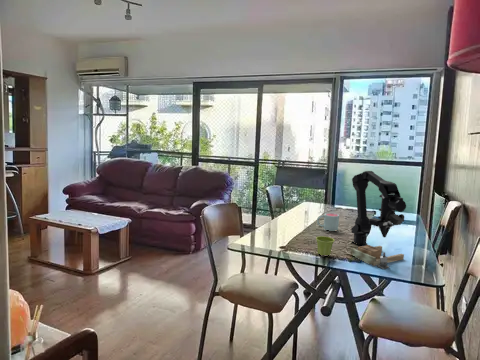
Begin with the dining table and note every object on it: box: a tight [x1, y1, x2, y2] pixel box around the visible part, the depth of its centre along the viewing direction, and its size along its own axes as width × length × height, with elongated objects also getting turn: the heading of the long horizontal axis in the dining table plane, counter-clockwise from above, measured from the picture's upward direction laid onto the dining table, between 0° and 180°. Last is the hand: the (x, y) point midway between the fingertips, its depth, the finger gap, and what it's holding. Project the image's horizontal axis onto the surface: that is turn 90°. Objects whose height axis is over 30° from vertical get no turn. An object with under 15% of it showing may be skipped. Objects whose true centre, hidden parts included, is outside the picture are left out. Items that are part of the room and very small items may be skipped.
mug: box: [316, 212, 340, 232], centre depth 236 cm, size 14×9×10 cm
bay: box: [350, 245, 405, 267], centre depth 188 cm, size 15×22×4 cm
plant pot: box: [315, 235, 335, 256], centre depth 188 cm, size 9×9×9 cm
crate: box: [357, 244, 383, 259], centre depth 185 cm, size 8×8×6 cm
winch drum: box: [376, 252, 390, 270], centre depth 174 cm, size 4×4×7 cm
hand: (384, 237), depth 188 cm, fingers closed
